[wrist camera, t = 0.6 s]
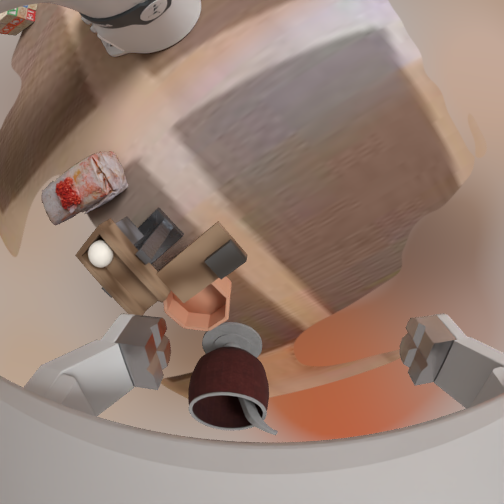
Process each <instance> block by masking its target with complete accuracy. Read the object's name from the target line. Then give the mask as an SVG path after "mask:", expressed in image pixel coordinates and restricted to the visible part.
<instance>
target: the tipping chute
mask: <svg viewBox="0 0 504 504" xmlns="http://www.w3.org/2000/svg"><path fill="white" fill-rule="evenodd" d="M143 236H144V235H143V234H142V233H141V232H140V231H139V230H138V228H137V227H136V226H135V225H134V224H133V223H132V221H131V220H130V219H129V218H128V217H125V218H124V219H122V220H121V221H119V222H117V223H116V224H115V223H114V222H113V220H112V219H111V218H110V219H109V220H107V221H105V222H104V223H102V224H100V225H99V226H98V227H97V228H96V229H95V231H94V232H93V233H92V234H91V236H90V237H89V238H88V239H87V241H86V242H85V243H84V245H83V246H82V247H81V249H80V250H79V251H78V253H77V254H76V257H77V258H78V259H79V260H80V261H81V263H82V264H84V266H85V267H86V268H87V270H88V271H89V272H90V273H91V274H92V275H93V276H94V278H95V279H96V280H97V281H98V282H99V283H100V284H101V285H102V287H103V288H104V289H105V290H106V291H107V292H108V293H109V294H110V295H111V296H112V297H113V298H114V299H115V300H116V301H117V303H118V304H119V305H120V306H121V307H123V309H124V310H125V311H126V312H127V313H128V314H134V315H142V316H143V314H144V313H145V311H146V310H147V309H148V308H149V307H151V306H152V305H153V304H155V303H156V302H157V301H158V300H160V301H161V302H163V301H165V300H166V298H167V297H168V295H169V293H170V292H171V291H172V292H173V293H174V294H175V295H176V296H177V297H178V298H179V299H180V300H181V301H182V302H183V303H185V302H186V301H188V300H189V299H190V298H192V297H193V296H195V295H196V294H197V293H199V292H200V291H201V290H203V289H204V288H206V287H207V286H208V285H210V284H211V283H212V282H214V281H215V280H217V279H218V278H220V279H223V278H224V277H225V276H227V275H228V274H230V273H231V272H232V271H234V270H235V269H236V268H238V267H239V266H241V265H242V264H243V263H245V262H246V260H247V254H246V253H245V252H244V250H243V249H242V248H241V247H240V246H239V245H238V243H237V242H236V241H235V240H234V239H233V238H232V236H231V235H230V234H229V233H228V232H227V231H226V230H225V228H224V227H223V226H222V225H221V224H220V223H219V221H218V222H217V223H215V224H214V225H213V226H212V227H211V228H209V229H208V230H207V231H206V232H204V233H203V234H202V235H201V236H200V237H198V238H197V239H196V240H195V241H194V242H192V243H191V244H190V245H189V246H188V247H186V248H185V249H184V250H183V251H182V252H180V253H179V254H178V255H177V256H176V257H175V258H173V259H172V260H171V261H170V262H169V263H168V264H166V265H165V266H164V267H163V268H162V269H161V270H159V271H157V270H156V269H155V268H154V267H153V266H152V265H151V264H150V263H148V264H145V263H144V262H143V261H142V260H141V259H140V258H139V257H138V256H137V255H136V252H137V251H138V249H137V248H136V247H135V246H134V245H135V244H136V243H137V242H138V241H139V240H140V239H141V238H142V237H143ZM98 240H103V241H106V243H107V244H108V245H109V246H110V247H111V248H112V250H113V259H112V261H111V263H110V264H109V265H107V266H106V267H102V268H99V267H96V266H94V265H93V264H92V263H91V262H90V260H89V257H88V250H89V248H90V246H91V245H92V244H93V243H94V242H96V241H98Z"/></svg>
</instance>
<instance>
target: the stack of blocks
mask: <svg viewBox="0 0 504 504" xmlns="http://www.w3.org/2000/svg"><path fill="white" fill-rule="evenodd" d="M36 8H37V4H30V5H25V6H21V7H18V8H14V9H11V10H8V11H6V12H3V13H1V14H0V33H1V34H8V35H17V34H18V33H20V32H21V31H22V30H24V29H25V28H26V27H28V26H29V25H31V24H32V23H33V22H35V13H36Z"/></svg>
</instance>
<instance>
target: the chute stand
mask: <svg viewBox="0 0 504 504" xmlns="http://www.w3.org/2000/svg"><path fill="white" fill-rule="evenodd" d="M138 230H139V231H140V232H141V233H142V234H143V235H144V236H143V237H142V238H141V239H140V240H139V241H138V242H137V243H136V244H135V245H134V246H135V247H136V248H137V249H138V251H137V252H136V255H137V256H138V257H139V258H140V259H141V260H142V261H143V262H144V263H145V264H148V263H150V264H152V263H153V262H154V261H155V260H156V259H157V258H159V257H160V256H161V255H162V254H163V253H164V252H165V251H166V250H168V249H169V248H170V247H171V246H172V245H173V244H174V243H176V242H177V241H178V240H179V239H180V238H181V237H182V236H183V235H184V234H183V233H182V232H181V231H180V229H179V228H178V227H177V226H176V225H175V224H174V223H173V222H172V221H171V220H170V219H169V218H168V217H167V216H166V215H165V214H164V212H163V211H162V210H161V209H160V208H158V209H157V210H156V211H155V212H154V213H153V214H152V215H151V216H150V217H149V218H148V219H147V220H145V222H144V223H143V224H142V225H141V226H140V227H139V228H138ZM102 289H103V290H104V291H105V292H106V293H107V294H108V295H109V296H110V297H112V296H111V295H110V294H109V293H108V292H107V291H106V290H105V289H104V288H103V287H102Z"/></svg>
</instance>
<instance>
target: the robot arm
mask: <svg viewBox="0 0 504 504" xmlns="http://www.w3.org/2000/svg"><path fill="white" fill-rule="evenodd" d="M37 3H53V4H57V5H61V6H64V7H67V8H70V9H73V10H75V11H78V12H79V13H80V14H81V16H82V17H81V18H82V20H83V21H84V22H85V23H86V24H88V25H89V24H91V23H92V24H93V25H92V26H91V27H90V30H91V31H92V32H94V33H96V32H97V34H98V35H97V36H98V37H99V38H100V39H101V41H102V43H103V45H104V46H105V48H106V50H107V52H108V53H109V55H111V56H113V57H117V56H121V55H124V54H127V53H152V52H157V51H160V50H163V49H166V48H168V47H170V46H172V45H174V44H175V43H177V42H178V41H180V40H181V39H182V38H184V37H185V36H186V35H187V34H188V33H189V32H190V31H191V29H192V28H193V27H194V25H195V24H196V22H197V20H198V18H199V15H200V11H201V0H0V14H1V13H3V12H6V11H8V10H11V9H14V8H18V7H21V6H25V5H30V4H37ZM111 46H112V47H111ZM166 330H167V326H166V322H165V320H164V319H163V318H159V317H150V316H142V315H134V314H120V315H119V316H118V318H117V319H116V320H115V322H114V323H113V324H112V325H111V327H110V328H109V329H108V331H107V332H106V333H105V335H104V336H103V337H102V339H101V340H95V341H93V342H90V343H88V344H86V345H85V346H82V347H80V348H78V349H75V350H73V351H71V352H69V353H67V354H65V355H62V356H61V357H58V358H56V359H54V360H52V361H49V362H48V363H45V364H43V365H41V366H40V367H39V369H38V370H37V371H36V372H35V374H34V375H33V376H32V378H31V379H30V380H29V381H28V383H27V384H26V385H25V386H24V388H23V387H21V386H18V385H17V384H15V383H12V382H11V381H9V380H7V379H5V378H3V377H1V376H0V504H504V353H502V352H500V351H498V350H496V349H494V348H492V347H490V346H488V345H486V344H484V343H482V342H479V341H478V340H475V339H473V338H471V337H469V338H467V337H466V335H465V334H464V333H463V332H462V330H460V328H459V327H458V326H457V325H456V324H455V322H453V320H452V319H451V318H450V317H449V316H448V315H447V314H437V315H433V316H424V317H415V318H410V320H409V321H408V323H407V326H406V330H407V332H408V333H407V334H406V335H405V336H404V337H403V338H402V341H401V344H400V357H401V360H402V362H403V364H404V365H406V366H408V367H409V371H408V373H409V375H410V377H411V379H412V381H413V383H414V385H420V384H425V383H430V382H434V383H435V384H436V385H438V386H439V387H440V388H441V389H442V390H444V391H445V392H446V393H448V394H449V395H450V396H451V397H453V398H454V399H455V400H456V401H458V402H459V403H460V404H462V405H463V406H464V407H465V408H466V409H464V410H461V411H458V412H455V413H452V414H449V415H446V416H443V417H440V418H437V419H434V420H431V421H427V422H423V423H420V424H416V425H412V426H408V427H404V428H399V429H395V430H391V431H386V432H380V433H375V434H369V435H363V436H357V437H350V438H341V439H332V440H323V441H308V442H287V443H286V442H285V443H259V442H257V443H255V442H234V441H220V440H209V439H201V438H193V437H185V436H178V435H172V434H166V433H161V432H156V431H151V430H146V429H141V428H137V427H133V426H129V425H125V424H121V423H117V422H113V421H110V420H106V419H103V418H99V417H97V416H98V415H99V414H100V413H102V412H103V411H104V410H106V409H107V408H108V407H110V406H111V405H112V404H114V403H115V402H116V401H117V400H119V399H120V398H121V397H123V396H124V395H125V394H127V393H128V392H129V391H130V390H132V389H133V388H134V386H135V387H141V388H148V389H155V390H158V388H159V386H160V383H161V381H162V378H163V372H162V369H164V368H166V367H167V366H168V363H169V361H170V354H171V347H170V341H169V339H168V338H167V337H166V336H165V335H164V334H165V332H166Z"/></svg>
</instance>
